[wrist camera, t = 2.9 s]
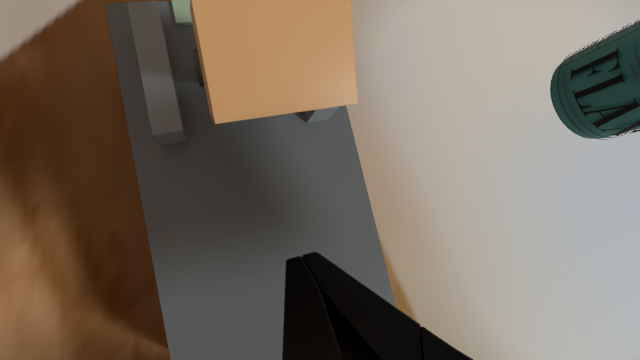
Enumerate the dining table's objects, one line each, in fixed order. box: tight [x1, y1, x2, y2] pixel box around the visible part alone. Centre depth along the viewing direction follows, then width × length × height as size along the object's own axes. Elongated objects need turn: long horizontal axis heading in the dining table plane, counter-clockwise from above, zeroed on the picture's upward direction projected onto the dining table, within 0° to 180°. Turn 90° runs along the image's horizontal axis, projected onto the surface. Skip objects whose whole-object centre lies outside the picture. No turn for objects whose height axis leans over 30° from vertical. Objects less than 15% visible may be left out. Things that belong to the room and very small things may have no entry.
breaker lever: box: [190, 0, 358, 124], centre depth 11 cm, size 2×3×8 cm
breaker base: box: [105, 0, 396, 360], centre depth 16 cm, size 16×9×6 cm, turn 14°
